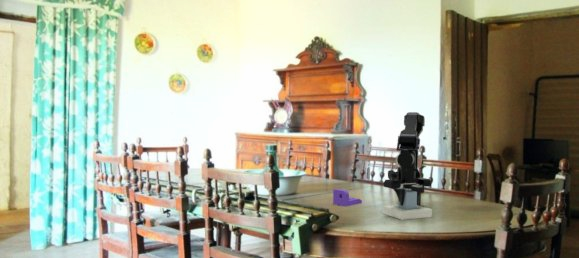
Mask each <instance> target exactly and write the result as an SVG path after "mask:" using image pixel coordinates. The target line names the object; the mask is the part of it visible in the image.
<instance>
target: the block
mask: <svg viewBox="0 0 579 258" xmlns="http://www.w3.org/2000/svg"><path fill="white" fill-rule="evenodd" d="M397 199H398V198H397ZM397 205H398V208H400V209H404V210H412V209H417V192H416V191H412V190H405V196H404V203H403V206H401V205H400V202H399V199H398V202H397Z"/></svg>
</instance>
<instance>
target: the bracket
mask: <svg viewBox="0 0 579 258" xmlns="http://www.w3.org/2000/svg"><path fill="white" fill-rule="evenodd" d="M332 190H333V192H332V193H333V194H332V195H333V196H332V199H333V200H332V205H334V204H337V205H336V206H340V205H342V206H341V207H350V206H355V205H359V203H360V204H362V203H363V200H362V199H360V198H356V197H350V194H349V193H350V192H349V191H348V190H347V189H337V188H334V189H332Z"/></svg>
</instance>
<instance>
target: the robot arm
mask: <svg viewBox="0 0 579 258" xmlns="http://www.w3.org/2000/svg"><path fill="white" fill-rule="evenodd" d="M425 122H426V120H425V116H424V115H422V114H420V113H419V112H415V111H413V112H412V111H411V112H406V114H405V115H404V116H403V125H404V129H402V130H401V131H400V133H399V135H398V136H397V142H396V143H397V144H396V151H397V152H399V151H400V153H399V154H398V156H397V159H396V161H397V164H398V165H399V167H398V168H397V171H395V170H394V169H392V170H391V169H390V170H388V171H387V178H388V179H385V180H384V181H383V187H384V188H388V189H391V190H393V191H394V192H395V193H396V197H397V199H399V202H400V205H401V206H403V203H404V196H405V190H412V191H416V192H417V205H418V206H422V207H424V205H422V204H421V201H422V200H421V198H422V194H424V193H425V189H426V188H427V187H429V188H430V187H432V181H431V179H429V178H427V177H426V178H425V177H422V174H421V173H420V170H419V150H420V146H421V139H420V135H421V134H422V133H423V131H424V127H425V126H426V125H425ZM425 187H426V188H425Z"/></svg>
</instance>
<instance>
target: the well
mask: <svg viewBox="0 0 579 258" xmlns="http://www.w3.org/2000/svg"><path fill="white" fill-rule="evenodd" d="M382 210H383V211H382V213H383V214H384V215H387V216H390V217H392V218H396V219H399V220H401V221H403V220H404V221H405V220H414V219H415V220H416V219H423V218H425V219H426V218H433V209H432V208H429V207H425V206H423V207H422V206H418V205H417V209H412V210H404V209H400V208H398V204H392V205H383V209H382Z"/></svg>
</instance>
